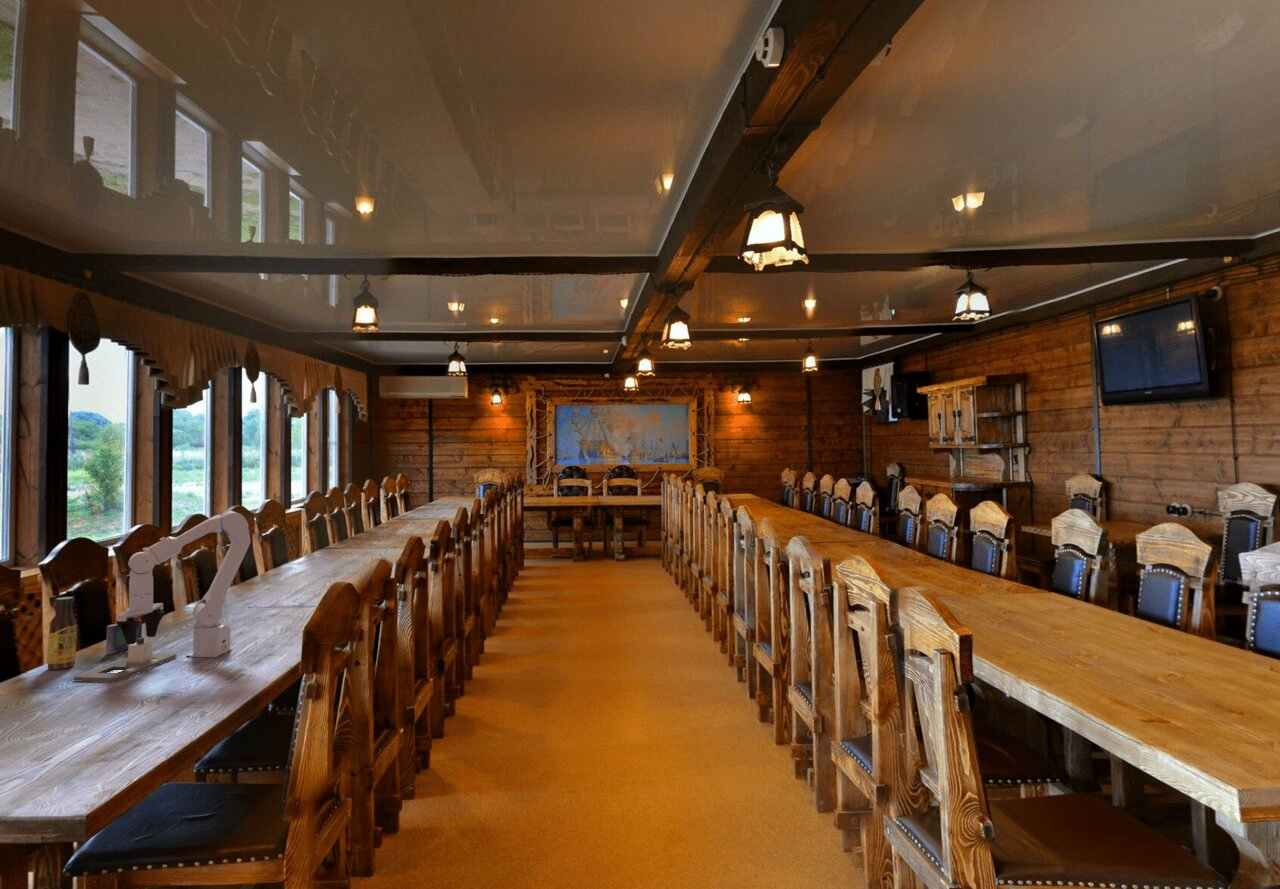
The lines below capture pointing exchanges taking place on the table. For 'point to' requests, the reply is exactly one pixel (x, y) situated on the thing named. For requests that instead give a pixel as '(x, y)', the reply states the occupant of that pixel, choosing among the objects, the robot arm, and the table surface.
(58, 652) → the sauce bottle
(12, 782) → the table surface
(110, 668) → the panel
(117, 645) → the flask
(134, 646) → the plug
